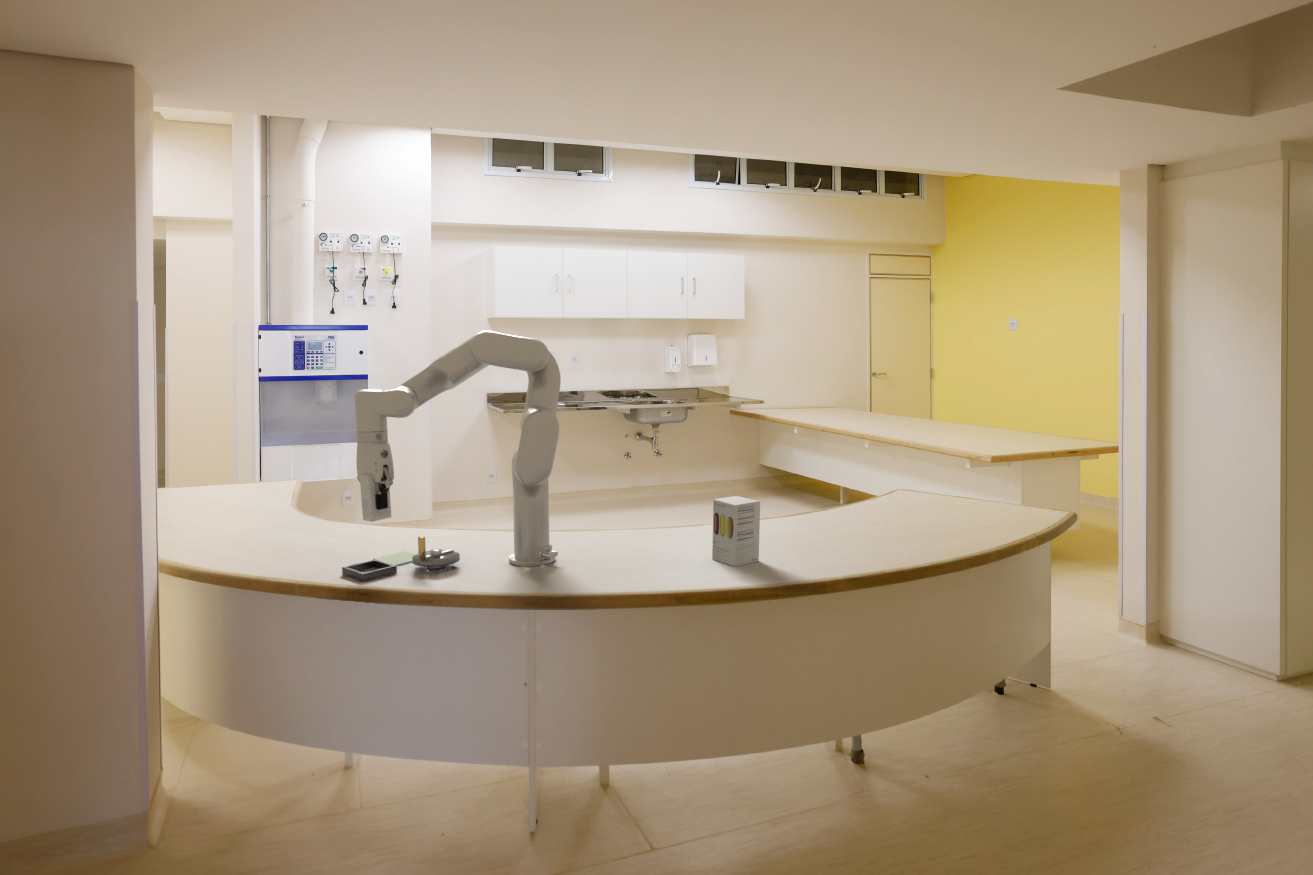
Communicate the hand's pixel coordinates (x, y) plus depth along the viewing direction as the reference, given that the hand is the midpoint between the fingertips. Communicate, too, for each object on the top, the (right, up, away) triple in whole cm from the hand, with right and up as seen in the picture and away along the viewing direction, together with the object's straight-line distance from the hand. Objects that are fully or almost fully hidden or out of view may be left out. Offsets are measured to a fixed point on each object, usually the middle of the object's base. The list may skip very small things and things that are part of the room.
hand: (376, 506), depth 213 cm
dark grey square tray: (-1, -17, -1) cm, 17 cm away
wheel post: (+15, -17, +4) cm, 22 cm away
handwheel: (+15, -14, +3) cm, 21 cm away
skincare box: (0, -3, 0) cm, 3 cm away
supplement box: (+94, -16, +12) cm, 96 cm away
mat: (+2, -15, +12) cm, 20 cm away
